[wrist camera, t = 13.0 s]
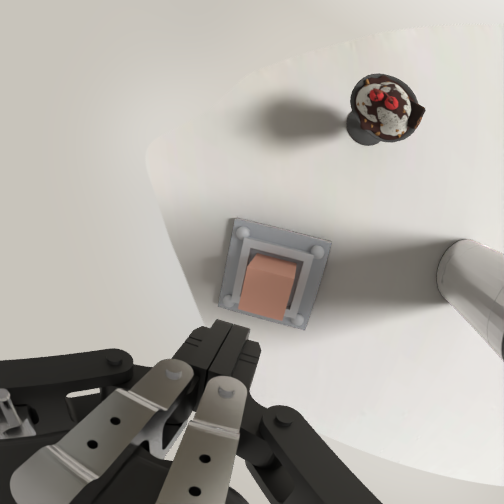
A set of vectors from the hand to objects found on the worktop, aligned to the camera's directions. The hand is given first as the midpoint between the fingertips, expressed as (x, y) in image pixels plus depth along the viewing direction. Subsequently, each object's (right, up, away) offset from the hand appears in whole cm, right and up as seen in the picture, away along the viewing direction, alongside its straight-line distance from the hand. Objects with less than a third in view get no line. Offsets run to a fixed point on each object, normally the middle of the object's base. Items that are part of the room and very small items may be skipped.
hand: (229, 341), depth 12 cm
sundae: (+15, +19, +19) cm, 31 cm away
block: (+3, +1, +24) cm, 24 cm away
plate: (+4, +1, +25) cm, 25 cm away
